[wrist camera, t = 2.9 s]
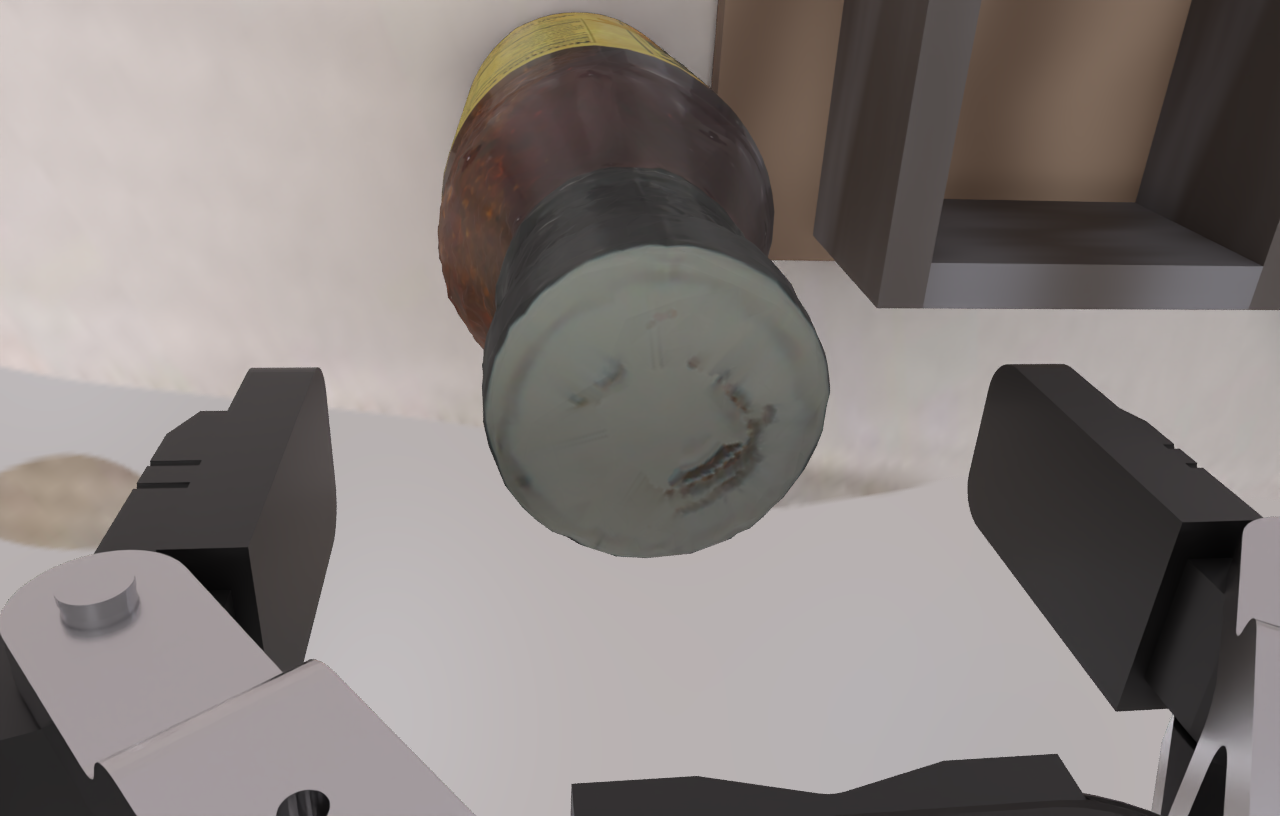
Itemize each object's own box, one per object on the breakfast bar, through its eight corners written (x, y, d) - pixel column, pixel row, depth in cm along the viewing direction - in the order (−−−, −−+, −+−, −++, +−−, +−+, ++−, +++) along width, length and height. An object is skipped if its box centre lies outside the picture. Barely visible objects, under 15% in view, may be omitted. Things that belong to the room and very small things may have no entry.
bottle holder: (1389, -239, 27) (1648, -276, 21) (1227, 255, 34) (1389, 337, 28) (741, -292, 25) (818, -351, 19) (698, 249, 31) (745, 337, 25)
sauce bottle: (690, 207, 31) (934, 630, 13) (487, 238, 30) (461, 714, 13) (666, -24, 28) (944, 129, 10) (440, 9, 27) (323, 224, 10)
